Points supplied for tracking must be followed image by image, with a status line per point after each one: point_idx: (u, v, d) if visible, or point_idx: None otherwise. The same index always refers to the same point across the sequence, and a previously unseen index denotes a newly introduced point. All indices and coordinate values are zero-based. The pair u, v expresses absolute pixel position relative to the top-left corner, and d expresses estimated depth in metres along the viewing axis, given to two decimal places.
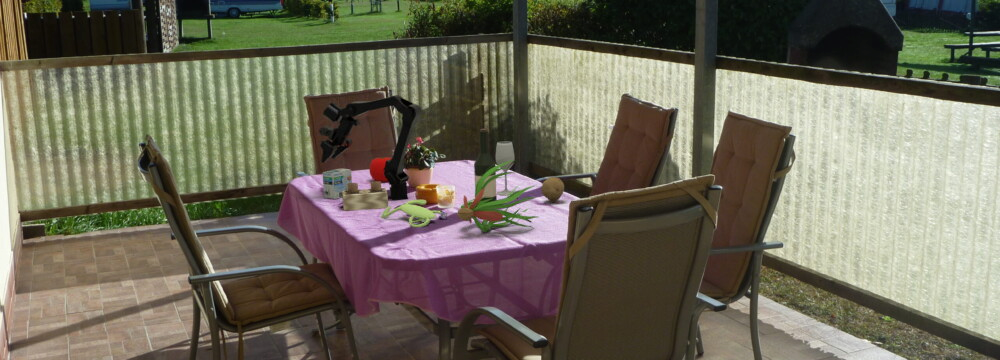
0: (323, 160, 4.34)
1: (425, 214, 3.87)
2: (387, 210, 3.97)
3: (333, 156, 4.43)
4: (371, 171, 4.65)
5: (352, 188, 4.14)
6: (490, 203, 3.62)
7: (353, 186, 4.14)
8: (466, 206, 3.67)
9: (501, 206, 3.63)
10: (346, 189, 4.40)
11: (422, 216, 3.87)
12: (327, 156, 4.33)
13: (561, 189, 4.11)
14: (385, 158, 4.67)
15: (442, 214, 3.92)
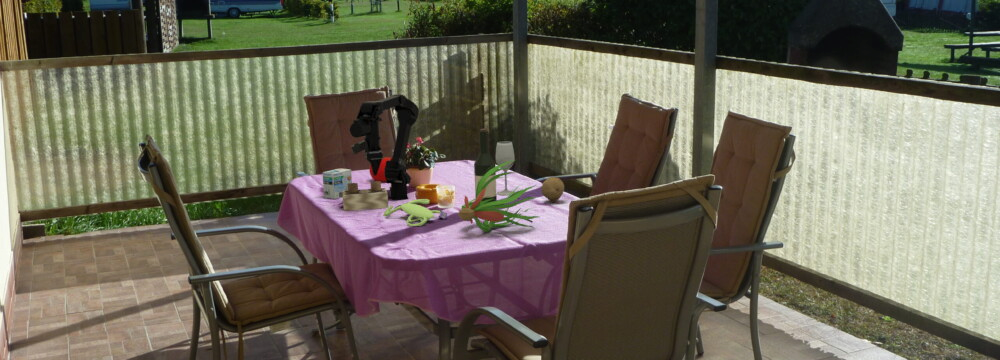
0: (375, 173, 4.12)
1: (423, 214, 3.88)
2: (389, 209, 3.99)
3: None
4: (371, 171, 4.65)
5: (352, 188, 4.14)
6: (491, 203, 3.62)
7: (353, 186, 4.14)
8: (467, 206, 3.66)
9: (502, 206, 3.63)
10: (346, 189, 4.40)
11: (420, 215, 3.87)
12: (377, 165, 4.11)
13: (561, 189, 4.11)
14: (385, 158, 4.67)
15: (441, 214, 3.92)
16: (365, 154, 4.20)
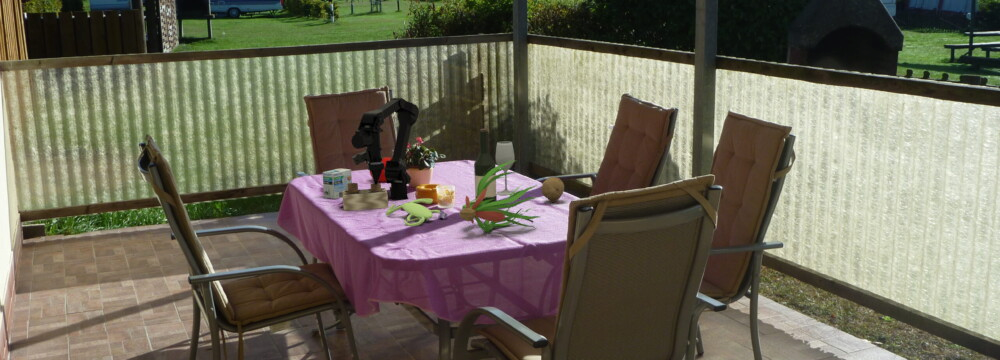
0: (376, 182, 4.17)
1: (422, 213, 3.88)
2: (391, 207, 4.01)
3: None
4: None
5: (352, 188, 4.14)
6: (492, 203, 3.62)
7: (353, 186, 4.14)
8: (468, 206, 3.66)
9: (503, 206, 3.63)
10: (346, 189, 4.40)
11: (419, 215, 3.88)
12: (378, 174, 4.16)
13: (561, 189, 4.11)
14: (385, 158, 4.67)
15: (441, 214, 3.92)
16: (367, 166, 4.17)
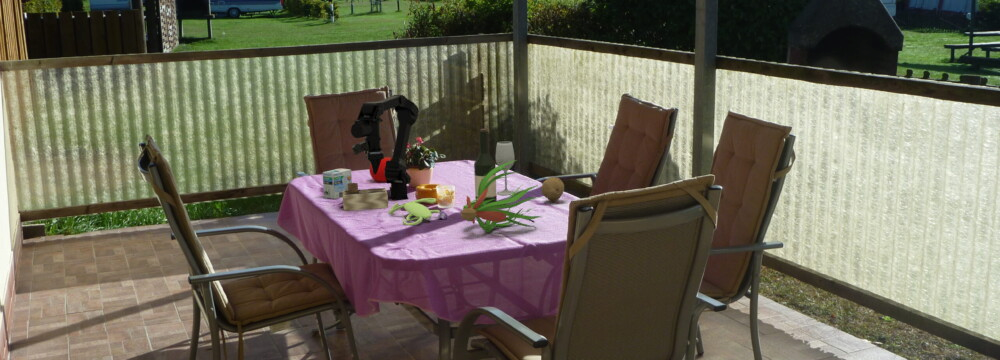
0: (375, 172, 4.16)
1: (421, 213, 3.89)
2: (394, 206, 4.03)
3: None
4: (371, 171, 4.65)
5: (352, 188, 4.14)
6: (494, 203, 3.62)
7: (353, 186, 4.14)
8: (469, 206, 3.66)
9: (504, 206, 3.63)
10: (346, 189, 4.40)
11: (418, 215, 3.89)
12: (377, 164, 4.15)
13: (561, 189, 4.11)
14: (385, 158, 4.67)
15: (441, 214, 3.92)
16: (366, 156, 4.16)
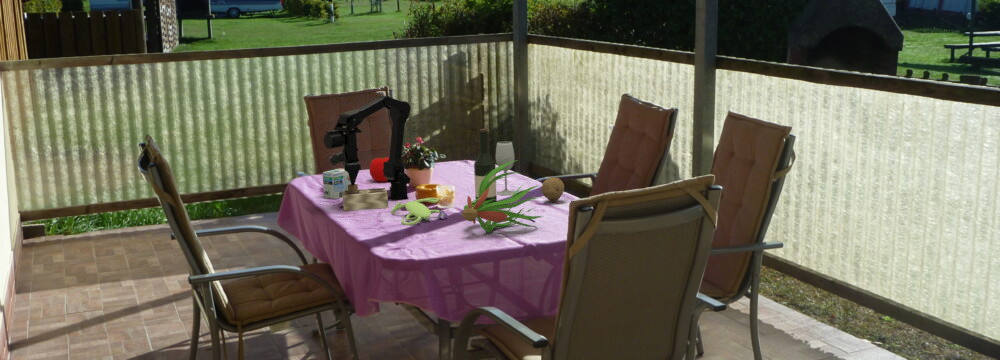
0: (353, 182, 4.15)
1: (420, 213, 3.89)
2: (396, 206, 4.04)
3: None
4: (371, 171, 4.65)
5: (352, 189, 4.14)
6: (495, 203, 3.62)
7: (353, 187, 4.14)
8: (470, 206, 3.66)
9: (505, 206, 3.63)
10: (346, 189, 4.40)
11: (417, 214, 3.89)
12: (355, 175, 4.14)
13: (561, 189, 4.11)
14: (385, 158, 4.67)
15: (440, 214, 3.92)
16: None
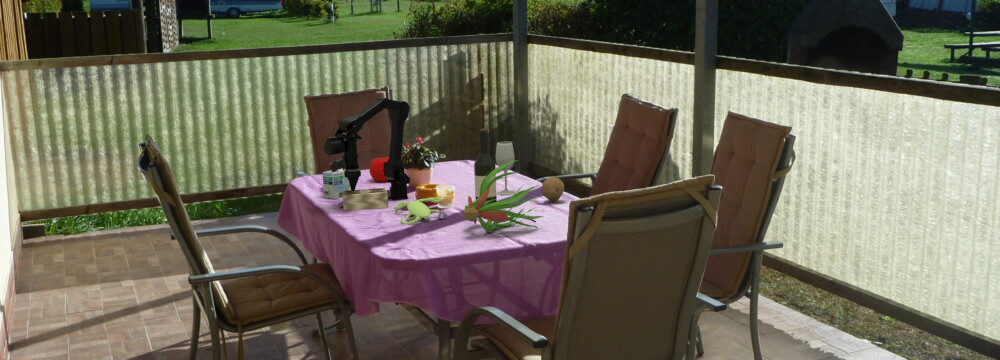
0: (353, 189, 4.16)
1: (419, 212, 3.90)
2: (399, 205, 4.06)
3: None
4: (371, 171, 4.65)
5: None
6: (496, 203, 3.62)
7: None
8: (471, 206, 3.66)
9: (506, 206, 3.63)
10: (346, 189, 4.40)
11: (416, 214, 3.90)
12: (355, 181, 4.15)
13: (561, 189, 4.11)
14: (385, 158, 4.67)
15: (440, 214, 3.92)
16: None
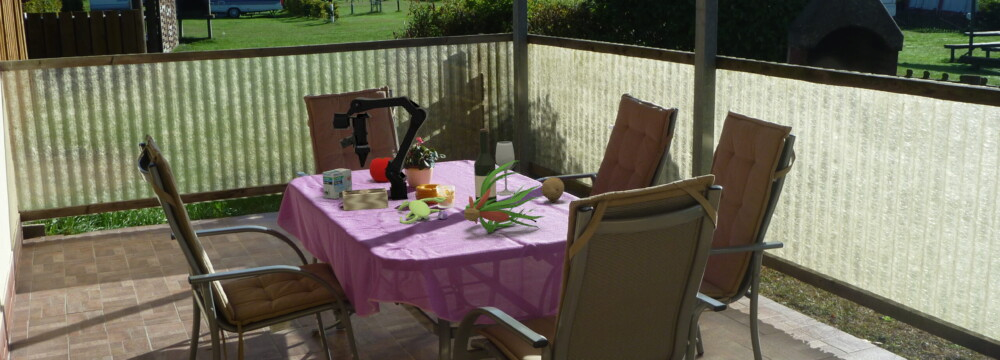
0: (362, 165, 4.31)
1: (419, 212, 3.91)
2: (403, 204, 4.07)
3: None
4: (371, 171, 4.65)
5: None
6: (497, 203, 3.62)
7: None
8: (472, 206, 3.65)
9: (507, 206, 3.63)
10: (346, 189, 4.40)
11: (416, 213, 3.91)
12: (364, 157, 4.30)
13: (561, 189, 4.11)
14: (385, 158, 4.67)
15: (439, 214, 3.92)
16: None
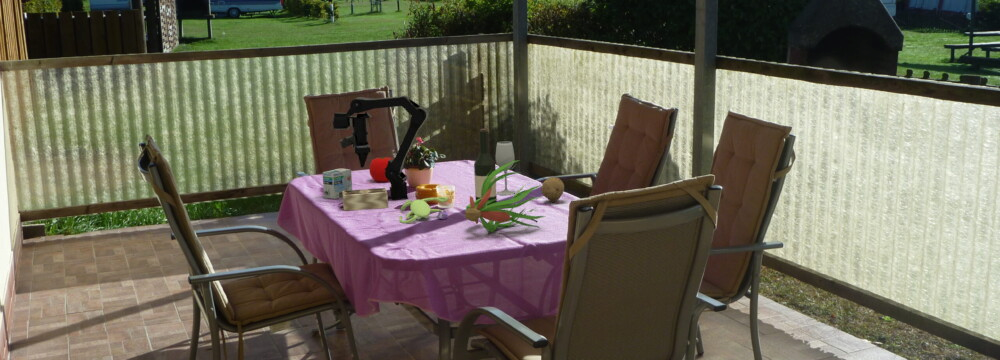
0: (362, 165, 4.31)
1: (419, 211, 3.91)
2: (406, 203, 4.08)
3: None
4: (371, 171, 4.65)
5: None
6: (498, 203, 3.61)
7: None
8: (473, 207, 3.65)
9: (508, 206, 3.63)
10: (346, 189, 4.40)
11: (416, 213, 3.92)
12: (364, 157, 4.30)
13: (561, 189, 4.11)
14: (385, 158, 4.67)
15: (439, 214, 3.92)
16: None
